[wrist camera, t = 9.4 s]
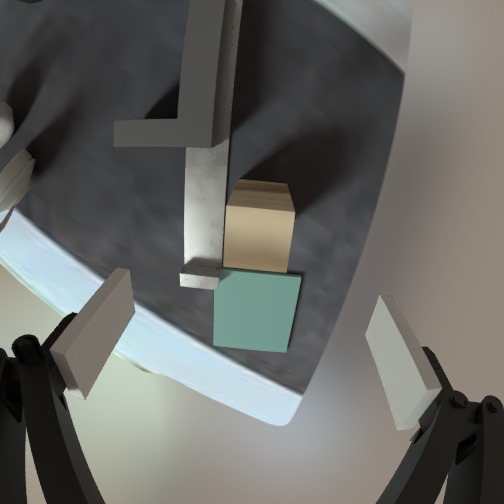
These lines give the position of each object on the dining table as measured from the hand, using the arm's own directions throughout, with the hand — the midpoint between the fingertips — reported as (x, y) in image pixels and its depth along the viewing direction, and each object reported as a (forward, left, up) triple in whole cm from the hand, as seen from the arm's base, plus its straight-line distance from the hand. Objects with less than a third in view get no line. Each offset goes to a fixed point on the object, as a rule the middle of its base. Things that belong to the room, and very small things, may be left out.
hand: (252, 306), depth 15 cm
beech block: (0, 0, -18) cm, 18 cm away
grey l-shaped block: (-14, -9, -18) cm, 25 cm away
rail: (-8, -6, -18) cm, 21 cm away
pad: (+14, 0, -18) cm, 23 cm away
